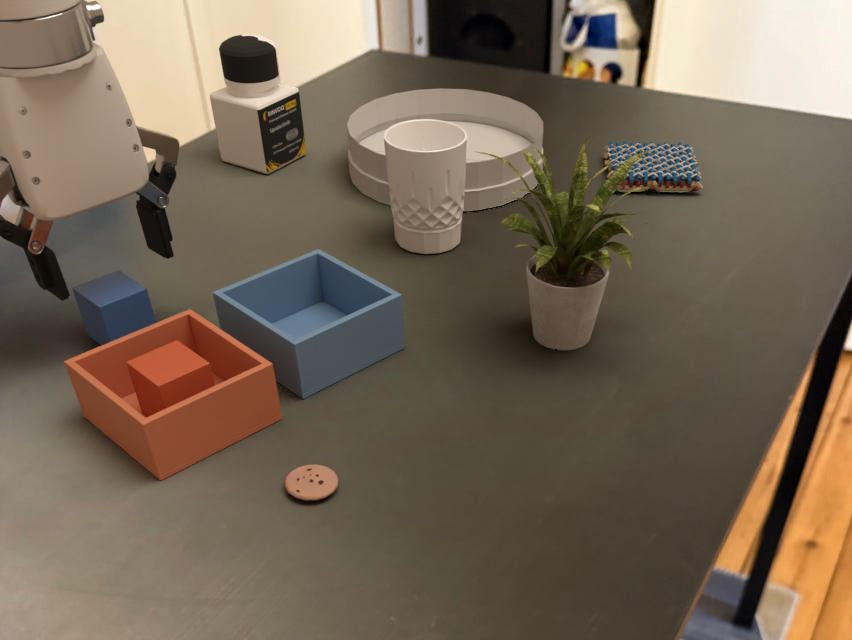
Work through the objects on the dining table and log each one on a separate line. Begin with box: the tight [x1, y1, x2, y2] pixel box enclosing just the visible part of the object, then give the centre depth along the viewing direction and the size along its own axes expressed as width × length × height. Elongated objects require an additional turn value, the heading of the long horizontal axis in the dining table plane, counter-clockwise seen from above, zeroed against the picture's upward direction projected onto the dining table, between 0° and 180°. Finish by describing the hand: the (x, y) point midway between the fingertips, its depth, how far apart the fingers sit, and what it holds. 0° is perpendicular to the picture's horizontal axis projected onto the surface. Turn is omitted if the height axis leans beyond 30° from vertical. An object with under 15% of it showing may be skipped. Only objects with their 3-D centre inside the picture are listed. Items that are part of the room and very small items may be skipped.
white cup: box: [383, 119, 467, 255], centre depth 90 cm, size 8×8×10 cm
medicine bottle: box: [209, 33, 307, 175], centre depth 102 cm, size 7×7×12 cm
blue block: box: [72, 270, 157, 346], centre depth 79 cm, size 4×4×4 cm
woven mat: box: [602, 140, 704, 192], centre depth 104 cm, size 10×11×2 cm
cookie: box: [284, 464, 339, 501], centre depth 67 cm, size 4×4×1 cm
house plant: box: [474, 135, 650, 351], centre depth 76 cm, size 14×14×16 cm
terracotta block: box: [126, 340, 215, 417], centre depth 71 cm, size 4×4×4 cm
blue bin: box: [212, 248, 406, 400], centre depth 78 cm, size 11×11×5 cm
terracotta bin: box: [63, 308, 283, 481], centre depth 71 cm, size 11×11×5 cm
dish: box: [346, 88, 544, 211], centre depth 103 cm, size 22×22×5 cm
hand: (111, 272), depth 77 cm, fingers open, 9 cm apart
